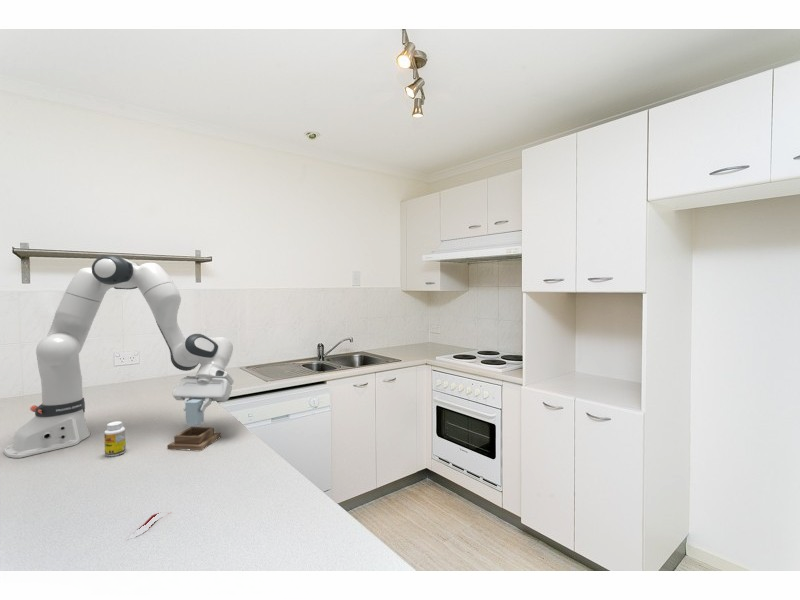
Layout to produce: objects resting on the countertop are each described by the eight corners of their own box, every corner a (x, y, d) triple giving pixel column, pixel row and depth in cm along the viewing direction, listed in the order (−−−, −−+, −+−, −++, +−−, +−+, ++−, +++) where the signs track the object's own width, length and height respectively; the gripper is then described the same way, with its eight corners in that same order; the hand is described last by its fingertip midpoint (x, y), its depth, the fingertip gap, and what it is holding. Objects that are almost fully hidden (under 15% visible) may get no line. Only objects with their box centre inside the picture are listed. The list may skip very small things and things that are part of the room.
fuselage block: (196, 425, 136) (196, 402, 135) (186, 425, 136) (185, 402, 136) (203, 421, 139) (203, 399, 139) (193, 421, 140) (192, 399, 140)
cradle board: (200, 451, 131) (200, 439, 131) (167, 449, 133) (167, 437, 132) (220, 437, 143) (220, 426, 143) (190, 435, 145) (189, 425, 144)
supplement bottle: (101, 455, 129) (100, 424, 128) (120, 448, 134) (119, 419, 133) (110, 458, 126) (109, 427, 125) (129, 452, 131) (128, 422, 130)
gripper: (179, 371, 145) (161, 406, 136) (231, 372, 143) (216, 407, 133) (187, 380, 150) (170, 414, 140) (238, 381, 147) (224, 415, 138)
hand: (193, 411), depth 137 cm, fingers closed on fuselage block, 4 cm apart
